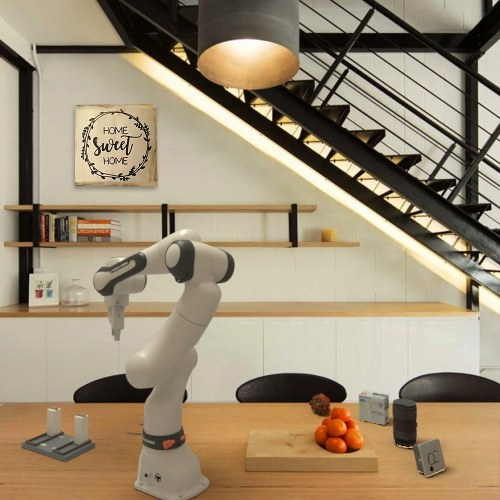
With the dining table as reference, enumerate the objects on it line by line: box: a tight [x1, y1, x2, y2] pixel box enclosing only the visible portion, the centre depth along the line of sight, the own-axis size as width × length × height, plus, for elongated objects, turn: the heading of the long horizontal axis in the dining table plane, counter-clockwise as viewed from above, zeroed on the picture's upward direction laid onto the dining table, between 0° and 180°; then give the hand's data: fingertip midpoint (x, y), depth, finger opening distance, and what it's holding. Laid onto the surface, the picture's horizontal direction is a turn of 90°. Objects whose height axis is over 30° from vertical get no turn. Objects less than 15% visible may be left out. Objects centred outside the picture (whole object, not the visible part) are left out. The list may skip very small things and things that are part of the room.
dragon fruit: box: [308, 392, 331, 416], centre depth 179 cm, size 8×8×12 cm
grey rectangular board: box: [21, 430, 96, 463], centre depth 145 cm, size 22×12×2 cm, turn 62°
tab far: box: [46, 405, 62, 436], centre depth 152 cm, size 4×3×10 cm
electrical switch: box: [412, 437, 447, 476], centre depth 131 cm, size 9×5×9 cm, turn 121°
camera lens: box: [391, 398, 418, 447], centre depth 149 cm, size 8×8×15 cm
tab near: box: [73, 412, 89, 445], centre depth 145 cm, size 4×3×10 cm
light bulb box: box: [358, 390, 390, 426], centre depth 170 cm, size 11×7×11 cm, turn 58°
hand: (115, 338), depth 156 cm, fingers open, 8 cm apart
